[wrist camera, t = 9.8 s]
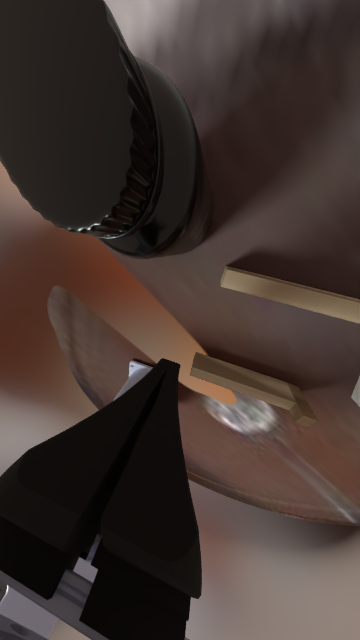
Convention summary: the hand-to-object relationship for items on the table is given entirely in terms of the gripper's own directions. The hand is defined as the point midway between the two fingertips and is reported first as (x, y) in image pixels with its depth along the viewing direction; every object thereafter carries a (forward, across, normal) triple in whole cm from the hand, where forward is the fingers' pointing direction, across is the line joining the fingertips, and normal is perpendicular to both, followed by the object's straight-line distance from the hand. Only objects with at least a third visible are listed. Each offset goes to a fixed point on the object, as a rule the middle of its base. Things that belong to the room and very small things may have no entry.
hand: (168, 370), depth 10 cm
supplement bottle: (+10, +4, -10) cm, 14 cm away
